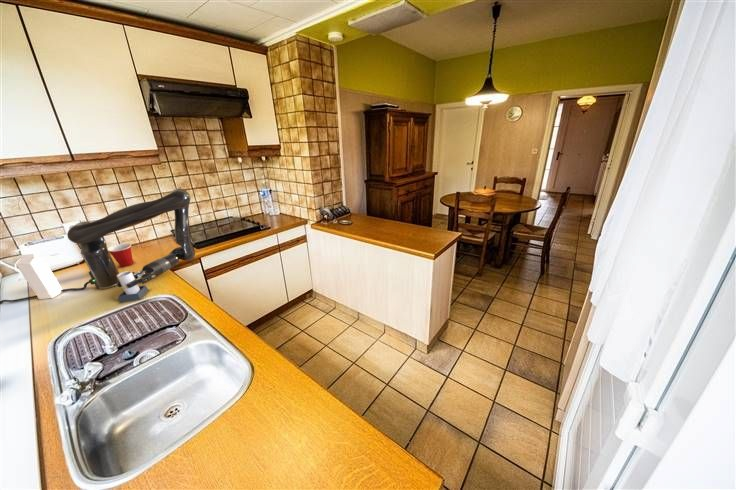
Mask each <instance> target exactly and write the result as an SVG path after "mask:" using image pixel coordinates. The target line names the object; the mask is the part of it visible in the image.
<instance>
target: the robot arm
mask: <svg viewBox="0 0 736 490" xmlns="http://www.w3.org/2000/svg"><path fill="white" fill-rule="evenodd" d="M190 203H191V195H190V193H189V191H187V190H186V189H184V188H175V189H173V190H172V191H170V193H168V194H166V195H164V196H161V197H159V198H157V199H154V200H150V201H143V202H137V203H134V204H130V205H129V206H125V207H123V208H120V209H118V210H116V211H114V212H112V213H110V214H108V215H106V216H104V217H102V218H99V219H96V220H94V221H88V220H87V221H85V220H84V221H80V222H77V223H76V224H74V225H72V226H71V227H70V228H69V229H68V231H67V233H66V236H67V239H68V240H69V241H70V242H72V243H74V244H77V245H80V255H81V256H82V258H83V261H84V262H85V264H86V266H87V268H88V270H89V271H88V275H89V276H90V279H88V281H87V282H85V283H84V284H83V287H78V288H77V287H72V288H71V287H70V288H64V289H63V288H62V289H63V290H61V292H62V293H65V292H68V291H69V292H70V291H82V290H86V289H87V286H88V285H89V284H90V285H91V286H92V285H94V286H95V287H96V289H98V290H99V289H100V290H106V289H110V288H113V287H116V286H117V288H122V286H121V284H120V282H119V280H118V278H117V275H118V274H120V272H119V269H118V268H117V266H116V264H115V261H114V258H113V256H112V255H111V253H110V252H109V251H108V249H107V248H108V245H107V241H106V239H105V236H107V235H109V234H112V233H115V232H118V231H122V230H125V229H128V228H131V227H134V226H138V225H140V224H142V223H146V222H147V221H151V220H152V219H155V218H157V217H159V216H161V215H164V214H166V213H170V212H173V211H174V212H173V213H174V238H175V239H174V240H175V243H176V244H177V245H178V246H177V247H175V248H174V249H172V250H171V251H170V252H169V253H168V254H166V255H164V256H162V257H160V258H157V259H155V260H153V261H151V262H149V263H147V264H145V265H143V267H142V269H141V270H139V271H136V272H135V271H132V273H133V275H134V278H135V280H133V281H131V282H130V283H128V284H127V287H128V288H131V287H133V286H135V285H137V284H138V285H140V284H143V285H144V284H147V283H148V282H151V281H153V280H156V279H157V278H158V277H159V276H161V275H163V274H165V273H167V272H168V271H170V270H171V269H173V268H175V267H176V266H178V265H179V264H180V261H181V260H182V261H186V262H191V261H193V260H194V259H195V257H196V251H195V247H194V245H193V244H194V243H192V238H191V237H192V236H191V227H190V218H189V217H190V216H189V210H190V209H189V208H190ZM36 298H38V297H37V295H36V294H35V295H31V296H27V297H22V298H16V299H2V300H0V305H2V304H3V303H17V302H22V301H26V300H30V299H36Z"/></svg>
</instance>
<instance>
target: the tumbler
mask: <svg viewBox="0 0 736 490" xmlns="http://www.w3.org/2000/svg"><path fill="white" fill-rule="evenodd" d="M132 272H133V271H131V270H127V271H122V272H119V274H118V275H117V278H118V280H119V282H120V284H121V286H122V287H121V288H122V290H123V292H125V294H126V295H130V294H136V293H138V292H139V291H140V288H139V286H140V285H139V284H137V285H135V286H133V287H131V288H128V287H127V284H128V283H130V282H131V281H133V280H135V278H134V275H133V273H132Z"/></svg>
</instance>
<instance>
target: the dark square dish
mask: <svg viewBox="0 0 736 490" xmlns="http://www.w3.org/2000/svg"><path fill="white" fill-rule="evenodd" d="M138 286H139V288H140V291H139V292H138V293H136V294H130V295H126V294H125V292H124V291H122V292H121V293H120V294H119V295H118V296H117V299H118V301H119V303H126V302H128V303H129V302H132V301H133V302H134V301H139V300H141V299H142V298H143V297H144V296H145V295H147V293H148V292H149V288H148V286H147V285H146V284H145V285H144V284H143V285H138Z"/></svg>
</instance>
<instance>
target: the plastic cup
mask: <svg viewBox="0 0 736 490" xmlns="http://www.w3.org/2000/svg"><path fill="white" fill-rule="evenodd" d="M107 249H108V251H109V253H110V255H111V257H112V258H113V259H114V260H115V261H116V263H118V265H119V266H120V268H124V267H125V268H126V267H130V266H132V265H133V264H134V260H133V254H132V244H131V243H129V242H127V243H126V242H125V243H118V244H114V245H111V246H109V247H107Z"/></svg>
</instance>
